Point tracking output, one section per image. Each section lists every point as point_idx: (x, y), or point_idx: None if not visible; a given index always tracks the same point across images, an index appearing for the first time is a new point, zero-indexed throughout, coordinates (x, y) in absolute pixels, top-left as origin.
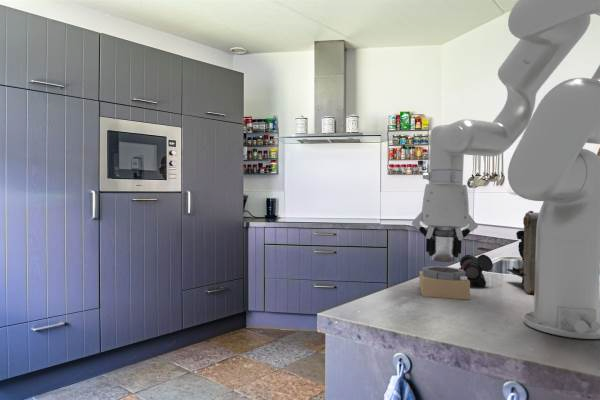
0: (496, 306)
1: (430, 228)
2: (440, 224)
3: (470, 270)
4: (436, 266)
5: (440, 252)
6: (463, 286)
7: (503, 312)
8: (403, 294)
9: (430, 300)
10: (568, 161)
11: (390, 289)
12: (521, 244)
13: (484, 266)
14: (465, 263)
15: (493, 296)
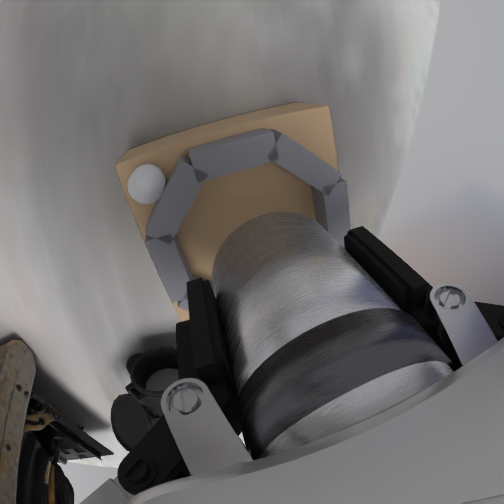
0: (38, 111)
1: (485, 346)
2: (469, 390)
3: None
4: None
5: (309, 238)
6: (145, 150)
7: (19, 46)
8: (360, 106)
9: (263, 55)
10: None
11: (399, 162)
12: (65, 502)
13: (129, 409)
14: None
15: (72, 258)
